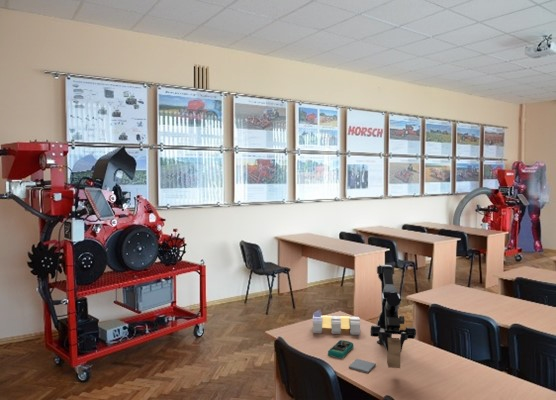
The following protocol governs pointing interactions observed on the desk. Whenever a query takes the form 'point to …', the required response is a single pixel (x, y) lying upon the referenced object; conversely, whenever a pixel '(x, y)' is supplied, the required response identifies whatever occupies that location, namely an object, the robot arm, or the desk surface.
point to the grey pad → (362, 365)
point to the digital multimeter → (340, 349)
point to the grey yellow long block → (336, 323)
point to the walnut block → (394, 353)
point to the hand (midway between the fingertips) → (394, 351)
